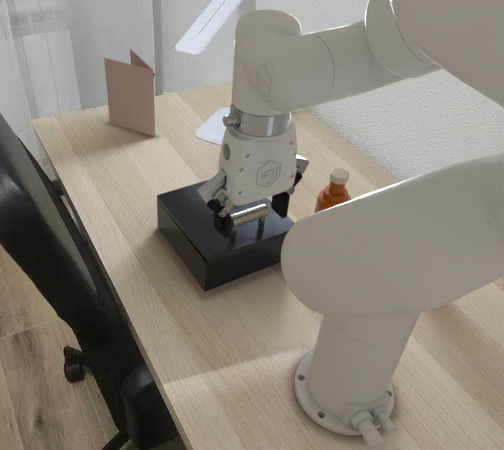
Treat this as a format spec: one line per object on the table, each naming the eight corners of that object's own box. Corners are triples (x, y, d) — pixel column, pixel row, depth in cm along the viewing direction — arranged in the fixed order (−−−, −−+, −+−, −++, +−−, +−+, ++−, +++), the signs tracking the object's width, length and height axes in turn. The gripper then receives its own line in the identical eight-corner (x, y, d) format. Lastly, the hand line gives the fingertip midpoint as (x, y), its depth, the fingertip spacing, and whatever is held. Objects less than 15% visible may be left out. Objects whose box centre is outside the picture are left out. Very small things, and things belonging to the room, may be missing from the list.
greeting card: (158, 135, 117) (157, 69, 108) (126, 143, 115) (121, 76, 105) (137, 111, 125) (133, 47, 115) (106, 119, 122) (100, 53, 112)
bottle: (345, 245, 93) (363, 179, 84) (318, 251, 91) (333, 185, 82) (330, 226, 96) (346, 161, 88) (304, 231, 95) (317, 166, 86)
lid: (298, 231, 84) (302, 204, 81) (208, 263, 78) (209, 236, 75) (238, 174, 96) (240, 149, 92) (156, 199, 90) (155, 173, 86)
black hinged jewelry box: (288, 262, 89) (294, 230, 85) (204, 295, 83) (206, 263, 79) (235, 205, 100) (238, 174, 96) (157, 230, 94) (156, 199, 90)
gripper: (215, 146, 63) (211, 256, 74) (334, 113, 70) (314, 219, 80) (185, 118, 68) (186, 225, 79) (298, 90, 75) (285, 193, 86)
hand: (251, 222), depth 80 cm, fingers open, 9 cm apart
